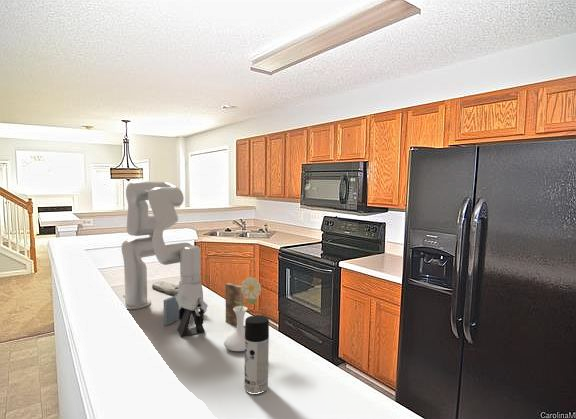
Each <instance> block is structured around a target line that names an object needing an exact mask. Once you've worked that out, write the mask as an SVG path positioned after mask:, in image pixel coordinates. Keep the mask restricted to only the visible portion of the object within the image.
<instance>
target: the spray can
mask: <svg viewBox="0 0 576 419" xmlns="http://www.w3.org/2000/svg"><path fill="white" fill-rule="evenodd" d="M269 319H270V318H268V317H267V316H265V315H251V316H250V315H249V316H247V317H246V318H245V320H244V321H245V322H244V329H245V351H244V380H243V381H244V383H243V384H244V386H243V387H244V390H246V391H248V392H251V393H258V392H262V391H265V390H266V389H267V390H268V388H269V349H270V347H269V346H270V345H269V343H270V342H269V340H270V337H269V336H270V331H269V330H270V324H269V322H270V320H269ZM267 387H268V388H267ZM267 390H266V391H267ZM246 391H245V392H246ZM266 391H265V392H266Z"/></svg>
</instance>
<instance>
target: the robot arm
mask: <svg viewBox="0 0 576 419" xmlns="http://www.w3.org/2000/svg"><path fill="white" fill-rule="evenodd" d="M125 196H126V202H127V216H126V217H127V218H126V232H127V234H128V235H129V236H132V237H133V238H131V237H130V238H127V239H126V240H124V241H123V242H122V244H121V254H122V259H123V268H124V271H123V272H124V295H123V297H122V298H124V301H123V302H122V303H123V304H124V305H125V307H126V308H127V309H126V310H138V309H139V310H140V309H142V308H146V307H149V306H150V305H151V304H152V300H151V299H149V298H148V272H147V270H148V268H147V264H146V263H145V262H144V261H143V260H142V259H143V258H148V257H153V256H155V257H156V260H157V261H158V262H159V263H160V264H161V265H164V266H167V265H172V264H177V263H178V264H179V269H180V271H179V272H180V277H179V279H180V280H179V282H178V285H179V287H178V296H176V297H175V298H176V301H177V305H178V309H179V319H178V320H179V321H181V319H182V316H183V313H184V310H185V309H188V310H191V311H194V310H195V312H196V314H197V316H196V326H200V325H204V315H205V314H206V312H207V309H208V304H207V303H206V302H205V301H204V292H203V285H202V279H201V278H202V275H201V274H202V273H201V272H202V270H201V267H202V266H201V265H202V264H201V262H202V261H201V258H202V257H201V255H202V254H201V248H200V247H199V246H198V245H193V244H191V243H189V242H178V243H170V244H166V243H165V240H164V236H163V235H164V231H166V230H168V229H169V228H171V227H173V226H174V225H175V224H177V223H178V221H179V216H178V214H177V211H176V208H175V207H180V206H182V205H183V203H184V194H183V192H182V190H181V189H180V188H179V187H178V186H176V185H174V184H172V183H169V182H167V181H160V180H153V181H152V180H136V181H135V180H134V181H131V182H129V183H128V184H127V185H126V188H125ZM148 203H149V204H148ZM149 205H150V208H151V211H152V214H149ZM196 326H195V327H196Z"/></svg>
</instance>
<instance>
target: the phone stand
mask: <svg viewBox="0 0 576 419" xmlns="http://www.w3.org/2000/svg"><path fill="white" fill-rule="evenodd" d="M196 316H197V314H196V312H195V310H194V311H191V310H188V309H185V310H184V313H183V316H182V319H181V320H180V322H179V325H178V328H177V333H178V334H179V336H180V337H181V338H182V339H183V338H187V337H190V336H191V337H192V336H196V335H199V334H204V333H206V330H205V328H204V326H203V325H204V324H202V325H200V326H196ZM191 319H193V322H194V325H195V326H193V327H190V328H189V325H190V323H191V322H190V321H191Z"/></svg>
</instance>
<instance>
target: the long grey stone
mask: <svg viewBox="0 0 576 419" xmlns="http://www.w3.org/2000/svg"><path fill="white" fill-rule="evenodd" d="M178 287H179V284H174V283H170V282H165V281H155V282H153V283H152V285H151V288H152V289H154V288H155V289H154V290H156V289H157V291H158V290H159V291H158V292H160V291H163V292H162V293H164V292H165V294H167V295H172V296H175V295H178Z"/></svg>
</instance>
